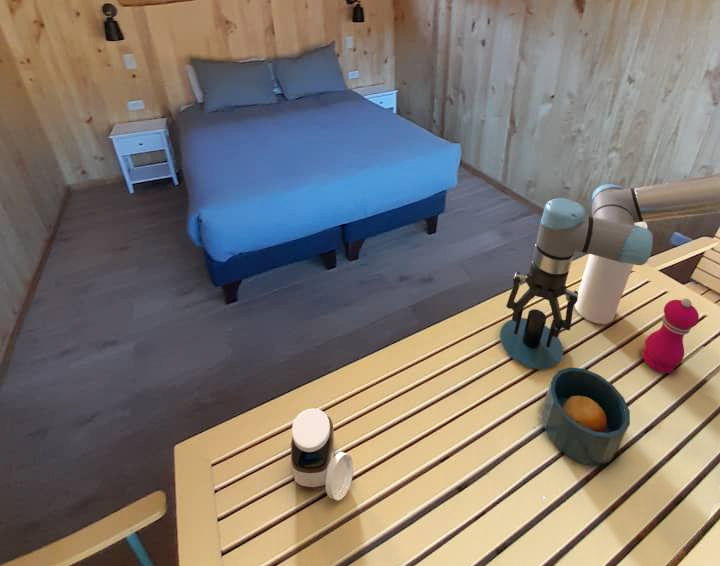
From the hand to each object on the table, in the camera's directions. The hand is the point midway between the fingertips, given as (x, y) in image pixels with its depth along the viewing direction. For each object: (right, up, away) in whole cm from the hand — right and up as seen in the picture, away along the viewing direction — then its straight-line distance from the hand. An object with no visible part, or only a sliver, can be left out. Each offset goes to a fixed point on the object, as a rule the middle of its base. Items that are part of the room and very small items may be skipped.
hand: (532, 336), depth 98 cm
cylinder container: (+21, +2, +11) cm, 24 cm away
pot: (+2, -12, -16) cm, 20 cm away
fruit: (+2, -11, -17) cm, 20 cm away
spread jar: (-49, -16, -22) cm, 56 cm away
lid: (0, -2, +1) cm, 2 cm away
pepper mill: (+28, -5, -3) cm, 29 cm away
